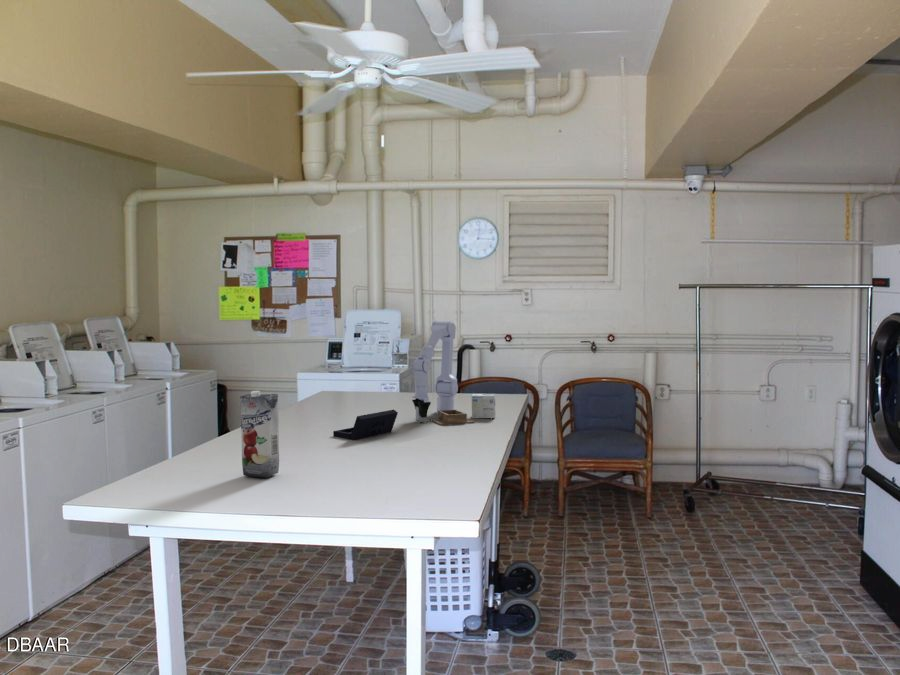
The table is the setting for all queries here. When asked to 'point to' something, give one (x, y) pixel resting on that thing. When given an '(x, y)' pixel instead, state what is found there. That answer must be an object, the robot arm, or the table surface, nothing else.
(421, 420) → the steel block
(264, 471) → the juice carton
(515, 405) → the table surface
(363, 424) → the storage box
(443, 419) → the walnut well
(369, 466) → the table surface
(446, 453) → the table surface
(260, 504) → the table surface
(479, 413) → the light bulb box
